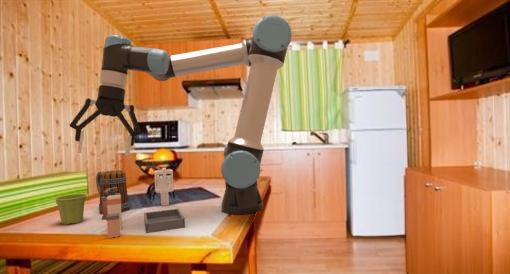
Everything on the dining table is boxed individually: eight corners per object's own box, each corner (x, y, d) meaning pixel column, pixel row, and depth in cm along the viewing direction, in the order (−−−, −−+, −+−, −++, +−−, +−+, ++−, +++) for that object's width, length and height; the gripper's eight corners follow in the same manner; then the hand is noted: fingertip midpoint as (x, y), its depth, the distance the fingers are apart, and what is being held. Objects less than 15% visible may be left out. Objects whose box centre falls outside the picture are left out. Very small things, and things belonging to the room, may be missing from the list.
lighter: (108, 219, 104) (107, 190, 104) (99, 219, 105) (98, 190, 105) (123, 213, 112) (121, 186, 112) (114, 213, 113) (113, 186, 113)
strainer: (156, 207, 120) (155, 169, 119) (155, 204, 126) (153, 167, 126) (175, 205, 122) (173, 167, 122) (172, 202, 129) (171, 166, 129)
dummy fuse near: (120, 233, 89) (119, 212, 89) (120, 236, 86) (119, 215, 86) (108, 235, 88) (107, 214, 88) (107, 238, 85) (106, 217, 85)
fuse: (122, 226, 96) (121, 194, 96) (122, 229, 93) (120, 196, 92) (108, 228, 95) (107, 195, 95) (108, 231, 91) (106, 197, 91)
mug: (135, 209, 119) (133, 170, 119) (109, 215, 110) (107, 173, 110) (111, 205, 127) (109, 169, 127) (85, 211, 118) (84, 172, 118)
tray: (178, 216, 106) (178, 208, 105) (185, 227, 93) (184, 218, 92) (144, 220, 101) (144, 212, 101) (146, 232, 88) (145, 223, 88)
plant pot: (48, 225, 101) (47, 198, 100) (74, 217, 109) (73, 193, 109) (69, 227, 97) (68, 199, 97) (94, 219, 106) (93, 194, 106)
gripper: (149, 94, 106) (141, 155, 107) (65, 79, 92) (56, 149, 92) (156, 93, 100) (147, 158, 100) (67, 77, 86) (57, 152, 86)
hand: (104, 154), depth 96 cm, fingers open, 13 cm apart
